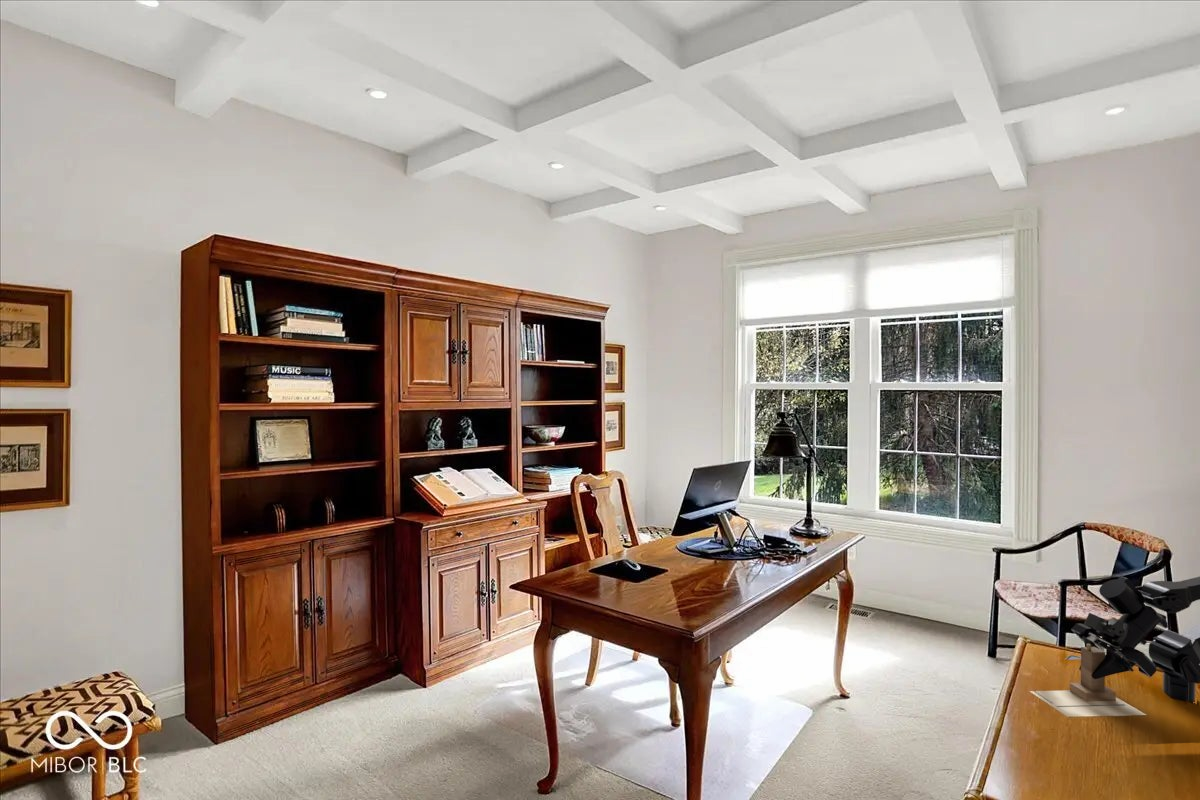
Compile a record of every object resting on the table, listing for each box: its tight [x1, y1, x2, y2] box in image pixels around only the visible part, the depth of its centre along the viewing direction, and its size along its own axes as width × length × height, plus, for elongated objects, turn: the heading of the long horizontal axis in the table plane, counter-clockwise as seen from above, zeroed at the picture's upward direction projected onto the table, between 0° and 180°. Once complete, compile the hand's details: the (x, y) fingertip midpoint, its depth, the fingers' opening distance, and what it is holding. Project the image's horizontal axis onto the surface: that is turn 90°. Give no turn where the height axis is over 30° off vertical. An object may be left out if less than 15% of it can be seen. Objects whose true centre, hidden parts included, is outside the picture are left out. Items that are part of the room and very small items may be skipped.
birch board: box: [1029, 689, 1147, 718], centre depth 149 cm, size 18×12×2 cm, turn 92°
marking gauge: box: [1069, 644, 1117, 701], centre depth 152 cm, size 7×5×12 cm
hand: (1086, 674), depth 152 cm, fingers closed on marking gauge, 3 cm apart
